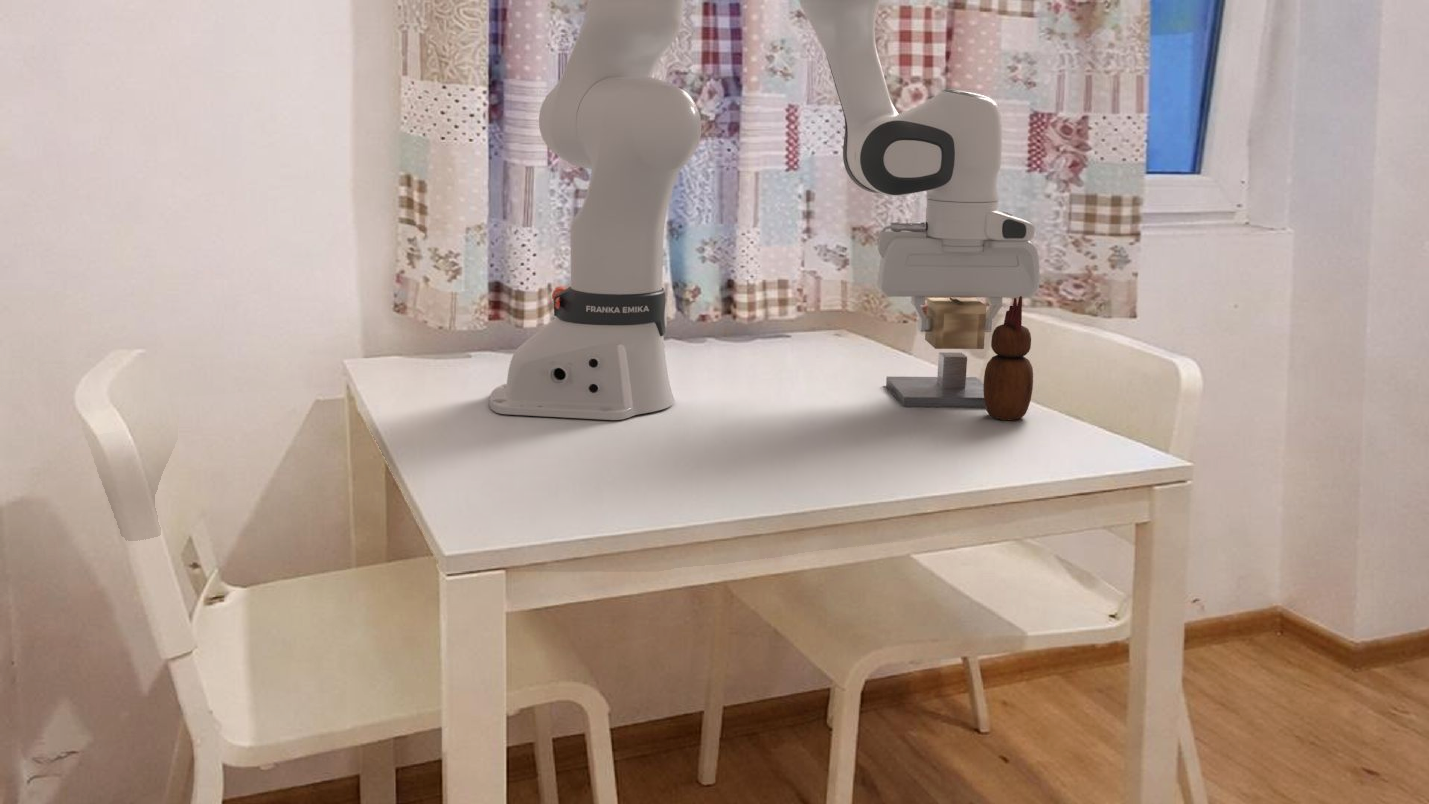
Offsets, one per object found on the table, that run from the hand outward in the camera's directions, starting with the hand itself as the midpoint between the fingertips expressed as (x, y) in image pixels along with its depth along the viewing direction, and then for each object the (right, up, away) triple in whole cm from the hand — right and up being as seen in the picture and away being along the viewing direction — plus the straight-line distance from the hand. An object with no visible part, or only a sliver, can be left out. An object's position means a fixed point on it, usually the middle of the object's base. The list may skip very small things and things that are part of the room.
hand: (954, 331), depth 169 cm
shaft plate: (-2, -8, +1) cm, 8 cm away
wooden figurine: (+4, -11, -10) cm, 15 cm away
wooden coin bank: (0, -2, 0) cm, 2 cm away
